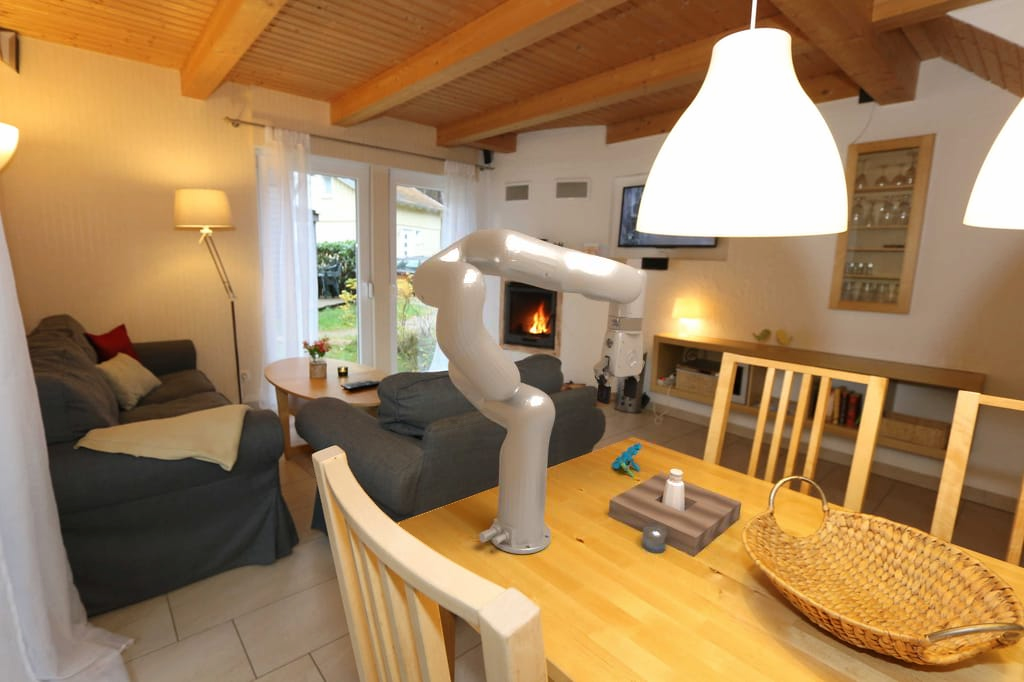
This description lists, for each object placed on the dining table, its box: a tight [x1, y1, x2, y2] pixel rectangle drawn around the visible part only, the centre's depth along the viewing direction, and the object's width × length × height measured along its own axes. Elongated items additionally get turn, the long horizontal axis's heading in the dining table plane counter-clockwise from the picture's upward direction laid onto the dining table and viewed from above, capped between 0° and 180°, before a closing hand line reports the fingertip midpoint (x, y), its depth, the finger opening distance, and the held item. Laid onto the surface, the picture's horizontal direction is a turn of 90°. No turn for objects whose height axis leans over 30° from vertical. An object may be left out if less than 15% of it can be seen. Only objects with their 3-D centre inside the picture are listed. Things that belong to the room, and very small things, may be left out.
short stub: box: [641, 523, 667, 555], centre depth 100 cm, size 5×5×4 cm
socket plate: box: [608, 472, 742, 558], centre depth 112 cm, size 22×20×4 cm
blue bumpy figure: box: [611, 442, 643, 478], centre depth 136 cm, size 11×6×10 cm
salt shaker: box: [662, 468, 684, 512], centre depth 112 cm, size 5×5×11 cm
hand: (616, 400), depth 113 cm, fingers open, 9 cm apart
